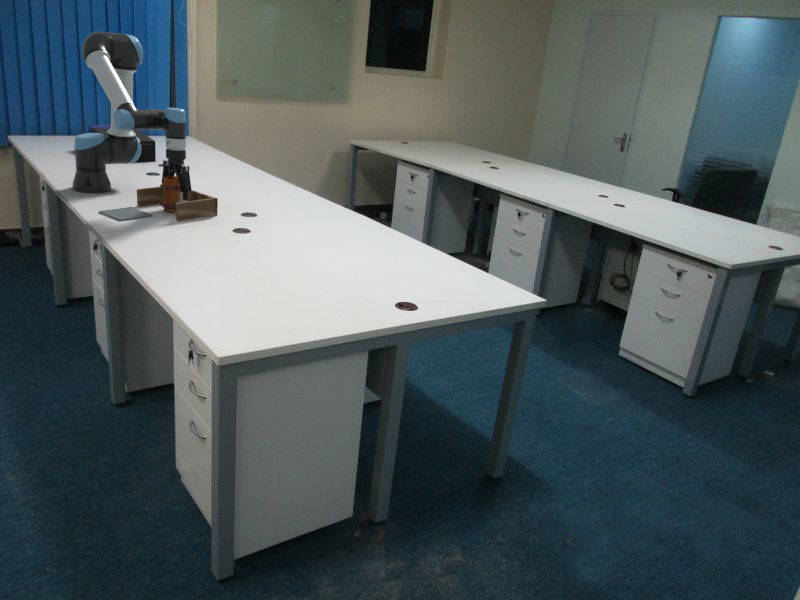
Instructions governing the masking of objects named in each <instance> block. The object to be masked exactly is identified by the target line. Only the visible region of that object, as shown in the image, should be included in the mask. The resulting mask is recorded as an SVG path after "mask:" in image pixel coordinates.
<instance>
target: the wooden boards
mask: <svg viewBox="0 0 800 600" xmlns="http://www.w3.org/2000/svg"><path fill="white" fill-rule="evenodd" d="M163 200H164V192H163V189H162V188H161V187H160V186H154V187H144V188H137V189H136V206H137V207H147V206H154V205H160V203H161V202H162V201H163ZM218 200H219V199H218V197H215V196H212V195H208V194H205V193H202V192H200V191H196V190H193V189H191V191H188V199H187V202H180V203H176V213H175V221H176V222H181V221H188V220H195V218H196V219H201V217H202V218H208V217H213V216H218V205H219V204H218V202H219V201H218ZM207 216H208V217H207Z"/></svg>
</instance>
